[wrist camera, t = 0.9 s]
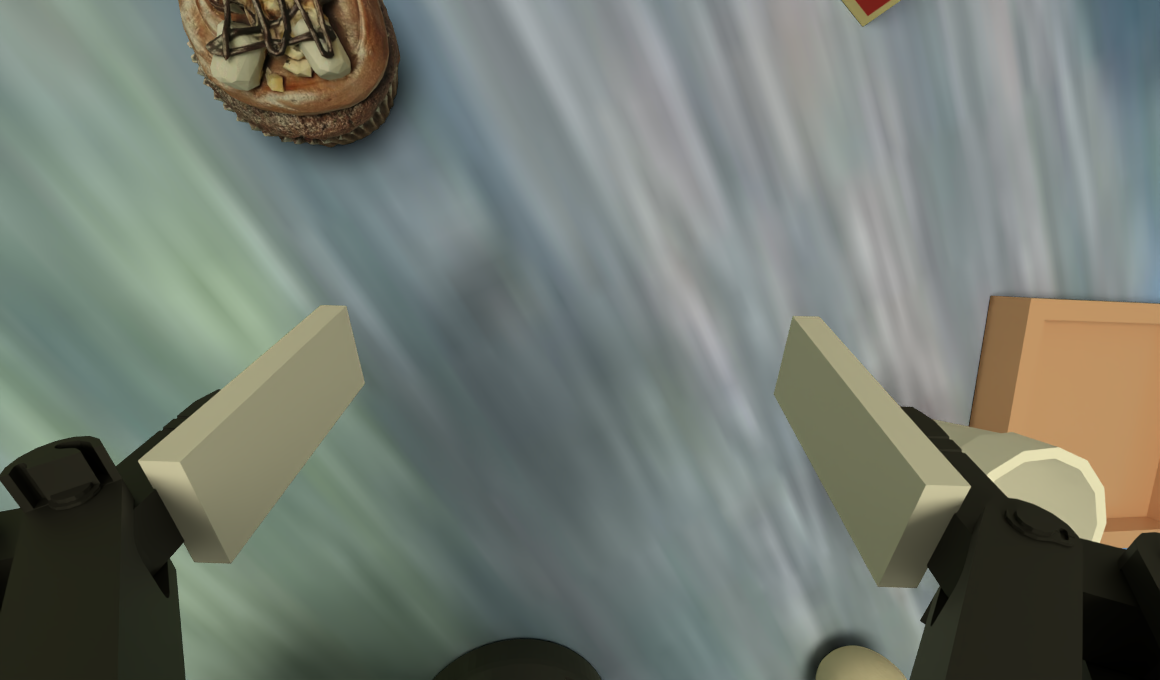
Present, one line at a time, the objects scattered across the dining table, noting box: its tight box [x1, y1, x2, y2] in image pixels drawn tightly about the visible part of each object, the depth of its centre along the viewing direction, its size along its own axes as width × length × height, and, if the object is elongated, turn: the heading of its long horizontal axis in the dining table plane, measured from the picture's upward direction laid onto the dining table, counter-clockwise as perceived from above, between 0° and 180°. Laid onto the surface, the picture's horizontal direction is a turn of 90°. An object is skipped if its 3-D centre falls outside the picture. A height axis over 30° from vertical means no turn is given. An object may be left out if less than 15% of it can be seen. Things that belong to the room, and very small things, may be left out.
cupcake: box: [178, 0, 400, 147], centre depth 24 cm, size 10×10×10 cm
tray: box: [969, 296, 1160, 548], centre depth 40 cm, size 20×20×3 cm
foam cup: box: [932, 419, 1107, 543], centre depth 32 cm, size 10×9×13 cm
